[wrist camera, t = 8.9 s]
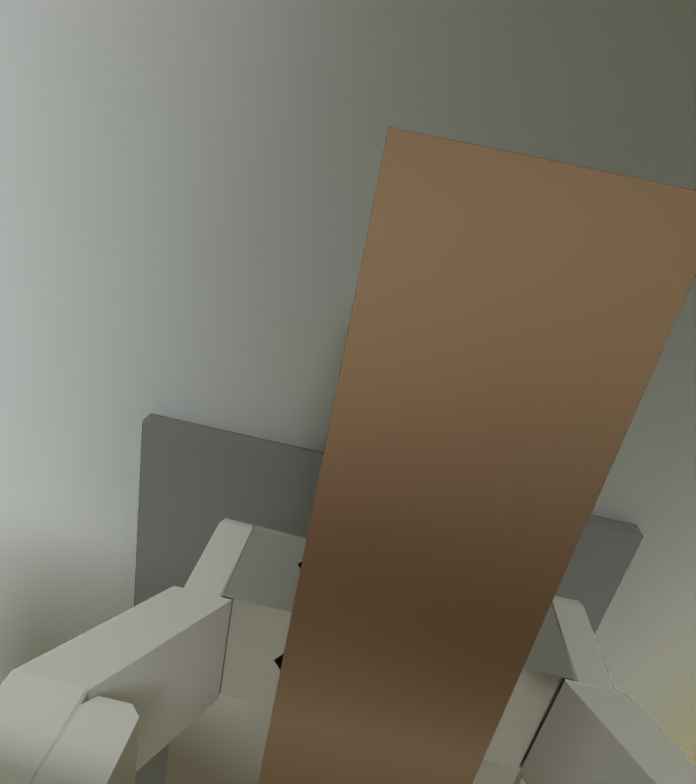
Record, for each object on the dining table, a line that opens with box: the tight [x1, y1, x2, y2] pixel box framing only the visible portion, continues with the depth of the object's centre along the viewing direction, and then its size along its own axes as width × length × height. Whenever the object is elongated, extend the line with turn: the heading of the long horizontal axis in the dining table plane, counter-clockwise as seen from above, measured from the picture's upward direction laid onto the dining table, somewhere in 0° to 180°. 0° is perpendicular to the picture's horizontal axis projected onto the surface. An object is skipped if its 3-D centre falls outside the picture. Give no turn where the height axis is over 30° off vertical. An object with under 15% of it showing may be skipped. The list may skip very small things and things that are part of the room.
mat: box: [134, 414, 643, 784], centre depth 19 cm, size 18×14×1 cm
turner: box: [165, 127, 696, 784], centre depth 10 cm, size 18×7×4 cm, turn 169°
